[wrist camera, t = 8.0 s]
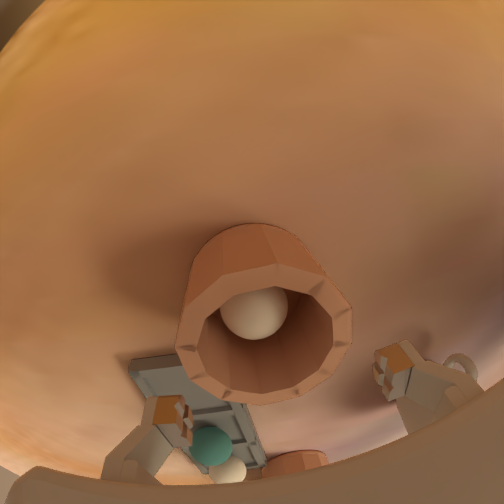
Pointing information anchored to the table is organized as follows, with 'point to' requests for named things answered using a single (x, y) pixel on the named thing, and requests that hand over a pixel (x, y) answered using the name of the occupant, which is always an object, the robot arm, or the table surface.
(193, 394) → the tray
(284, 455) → the tube
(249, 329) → the ball
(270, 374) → the tube
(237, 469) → the ball
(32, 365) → the table surface
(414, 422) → the cup
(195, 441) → the ball
